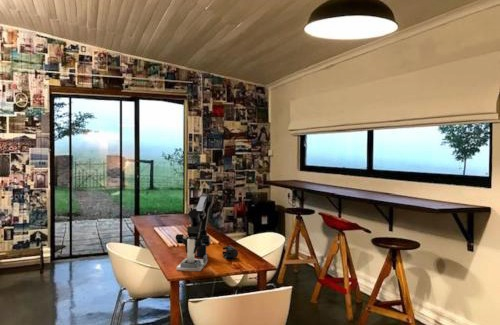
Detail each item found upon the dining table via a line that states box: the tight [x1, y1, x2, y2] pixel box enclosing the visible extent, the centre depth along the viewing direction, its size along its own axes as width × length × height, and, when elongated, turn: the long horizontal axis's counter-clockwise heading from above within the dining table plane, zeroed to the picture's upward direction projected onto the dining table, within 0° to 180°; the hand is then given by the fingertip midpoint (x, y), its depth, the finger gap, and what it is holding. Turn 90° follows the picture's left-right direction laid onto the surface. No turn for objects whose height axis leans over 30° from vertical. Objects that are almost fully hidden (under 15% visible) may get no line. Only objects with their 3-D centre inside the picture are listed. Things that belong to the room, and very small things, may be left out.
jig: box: [175, 253, 209, 272], centre depth 226 cm, size 19×13×4 cm
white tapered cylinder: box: [186, 239, 196, 263], centre depth 221 cm, size 4×4×14 cm
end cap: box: [222, 244, 239, 261], centre depth 245 cm, size 10×7×7 cm
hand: (190, 252), depth 220 cm, fingers closed on white tapered cylinder, 4 cm apart
